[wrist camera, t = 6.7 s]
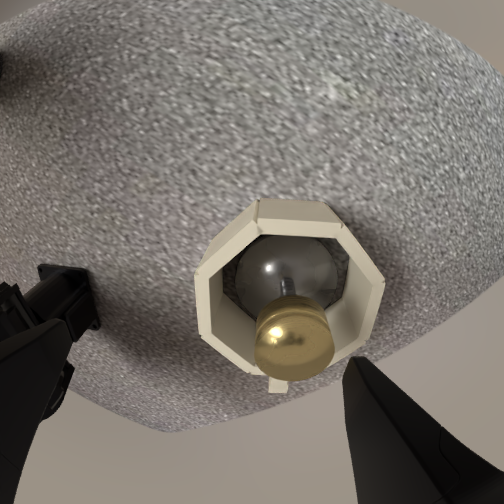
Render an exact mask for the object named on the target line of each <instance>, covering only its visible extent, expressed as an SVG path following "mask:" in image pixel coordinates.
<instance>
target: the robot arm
mask: <svg viewBox="0 0 504 504" xmlns="http://www.w3.org/2000/svg"><path fill="white" fill-rule="evenodd" d="M37 269H38V273H39V277H40V280H41V281H40V282H39V283H38V284H37V285H35V286H34V287H33V288H32V289H30V290H29V291H28V292H27V293H26V294H25V295H22V294H21V292H20V290H19V289H20V288H19V286H18V285H17V283H16V284H14V285H13V286H12V287H11V286H10V285H8V284H7V283H6V282H3V283H1V284H0V504H13V503H14V499H15V495H16V491H17V488H18V484H19V480H20V477H21V474H22V472H21V471H22V470H23V467H24V464H25V461H26V458H27V455H28V452H29V449H30V446H31V444H32V441H33V438H34V435H35V433H36V430H37V428H38V425H39V424H40V423H41V421H42V420H45V419H47V418H49V417H50V416H51V415H53V414H54V413H55V412H56V411H57V410H58V408H59V407H60V405H61V403H62V401H63V400H64V396H65V394H66V391H67V388H68V386H69V383H70V380H71V378H72V375H73V372H74V370H75V368H74V367H73V366H72V364H70V363H69V362H68V361H67V360H66V359H67V356H68V354H69V351H70V349H71V346H72V344H73V342H77V341H78V340H79V339H80V337H81V336H82V335H83V333H84V332H85V331H86V330H87V329H91V330H96V331H97V330H99V329H100V327H101V325H100V322H99V318H98V315H97V311H96V308H95V304H94V301H93V297H92V293H91V289H90V285H89V281H88V276H87V273H86V271H85V270H84V269H82V268H74V267H65V266H56V265H48V264H40V265H39V266H38V267H37ZM81 274H82V275H81ZM342 385H343V395H344V396H343V397H344V407H345V408H344V409H345V424H346V431H347V437H348V442H349V448H350V453H351V459H352V466H353V472H354V478H355V485H356V492H357V499H358V504H504V472H503V471H501V470H499V469H497V468H496V467H495V466H493V465H492V464H490V463H489V462H487V461H486V460H485V459H483V458H482V457H480V456H479V455H477V454H476V453H474V452H473V451H472V450H470V449H469V448H468V447H466V446H465V445H464V444H462V443H461V442H460V441H459V440H458V439H456V438H455V437H454V436H453V435H452V434H450V433H449V432H448V431H447V430H446V429H445V428H444V427H441V425H440V424H439V423H438V422H437V421H436V420H435V419H434V418H432V417H431V416H430V415H429V414H428V413H427V412H426V411H425V410H424V409H423V408H421V407H420V406H419V405H418V404H417V403H416V402H415V401H413V399H411V398H410V397H409V396H408V395H407V394H406V393H405V392H404V391H403V390H401V389H400V388H399V387H398V386H397V385H396V384H395V383H394V382H392V381H391V380H390V379H389V378H388V377H387V376H386V375H385V374H384V373H383V372H381V371H380V370H379V369H378V368H377V367H376V366H375V365H374V364H373V363H371V362H370V361H369V360H368V359H367V358H366V357H364V356H353V357H351V358H350V360H349V362H348V364H347V367H346V370H345V372H344V375H343V379H342Z"/></svg>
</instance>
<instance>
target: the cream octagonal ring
mask: <svg viewBox="0 0 504 504" xmlns="http://www.w3.org/2000/svg"><path fill="white" fill-rule="evenodd" d="M260 234H273V235H291V236H309V237H325V238H336V239H337V240H338V242H339V243H340V244H341V245H342V247H343V248H344V249H345V250H346V252H347V253H348V254H349V255H350V258H349V264H348V269H347V274H346V279H345V284H344V289H343V294H342V298H340V299H339V300H338V301H336V302H335V303H334V304H332V305H331V306H330V307H328V308H327V309H325V310H324V311H325V314H326V317H327V320H328V324H329V327H330V331H331V334H332V338H333V342H334V346H335V353H334V357H333V359H332V361H331V363H330V364H329V365H328V366H327V367H326V368H328V367H329V366H331V365H333V364H334V363H336V362H338V361H339V360H341V359H342V358H344V357H346V356H347V355H349V354H350V353H352V352H353V351H355V350H356V349H358V348H359V347H361V346H362V345H364V344H365V343H366V341H365V340H369V337H370V334H371V331H372V328H373V325H374V322H375V319H376V316H377V312H378V309H379V306H380V302H381V299H382V295H383V291H384V288H385V284H386V283H385V282H384V280H385V279H384V277H383V276H382V274H381V273H380V271H379V270H378V269H377V267H376V266H375V264H374V263H373V262H372V260H371V259H370V257H369V256H368V255H367V253H366V252H365V251H364V249H363V248H362V247H361V245H360V244H359V243H358V241H357V240H356V239H355V237H354V236H353V235H352V233H351V232H350V231H349V229H348V228H347V227H346V226H345V224H344V223H343V222H342V221H341V220H340V219H339V218H338V216H337V215H336V214H335V213H334V212H333V211H332V210H331V208H330V207H329V206H328V205H327V204H324V203H323V202H318V201H304V200H289V199H272V198H260V202H259V201H258V200H257V199H256V200H255V201H254V202H253V203H252V204H251V205H249V206H248V207H247V208H246V209H245V210H244V211H243V212H242V213H241V214H239V215H238V216H237V217H236V218H235V219H234V220H233V221H232V222H231V223H230V224H228V225H227V226H226V227H225V228H224V229H223V230H222V231H221V232H220V233H219V234H218V235H216V236H215V237H214V238H213V239H212V241H211V243H210V245H209V247H208V248H207V250H206V252H205V254H204V256H203V258H202V260H201V262H200V264H199V266H198V268H197V269H196V272H195V274H194V279H195V293H196V306H197V318H198V329H199V335H201V338H202V339H203V340H204V341H206V342H207V343H208V344H209V345H211V346H212V347H213V348H214V349H216V350H217V351H218V352H220V353H221V354H222V355H223V356H225V357H226V358H227V359H229V360H230V361H231V362H233V363H234V364H235V365H237V366H238V367H239V368H241V369H242V370H243V371H245V372H246V373H249V372H250V371H251V374H252V375H266V374H264V373H263V372H262V371H261V370H260V369H259V368H258V366H257V364H256V362H255V358H254V349H255V335H256V322H255V321H254V320H253V319H252V318H251V317H250V316H248V315H247V314H246V313H245V312H244V311H243V310H242V309H241V308H240V307H238V306H237V305H236V304H235V303H234V302H233V301H232V300H231V299H230V298H229V297H227V296H226V295H225V294H224V293H223V268H222V267H223V266H224V265H225V264H226V263H228V262H229V261H230V260H231V259H232V258H233V257H235V256H236V255H237V254H238V253H239V252H240V251H241V250H243V249H244V248H245V247H246V246H247V245H248V244H250V243H251V242H252V241H253V240H254V239H255V238H257V237H258V236H259V235H260ZM326 368H325V369H326ZM287 390H288V381H282V380H277V379H274V378H272V377H270V376H269V388H268V393H287Z"/></svg>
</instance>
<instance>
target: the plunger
mask: <svg viewBox="0 0 504 504" xmlns="http://www.w3.org/2000/svg"><path fill="white" fill-rule="evenodd" d="M337 280H338V277H337V269H336V266H335V263H334V261H333V259H332V257H331V255H330V253H329V251H328V250H327V248H326V247H325V246H324V245H323V244H322V243H321V242H320V241H318V240H317V239H315V238H314V237H309V236H291V235H273V234H267V235H265V236H263V237H261V238H259V239H257V240H256V241H255V242H253V243H252V244H251V245H250V246H249V247H248V248H247V249H246V251H245V252H244V253H243V255H242V257H241V259H240V261H239V264H238V267H237V272H236V278H235V285H236V291H237V294H238V297H239V299H240V301H241V303H242V304H243V306H244V307H245V308H246V309H247V310H248V311H249V312H250V313H251V314H252V315H254V316H255V317H257V322H256V335H255V349H254V358H255V362H256V364H257V366H258V368H259V369H260V370H261V371H262V372H263V373H264V374H266V375H268V376H270V377H272V378H274V379H277V380H282V381H300V380H305V379H308V378H311V377H313V376H315V375H317V374H319V373H320V372H322V371H323V370H324V369H325V368H326V367H327V366H328V365H329V364H330V363H331V361H332V359H333V357H334V353H335V346H334V342H333V338H332V334H331V331H330V327H329V324H328V320H327V317H326V314H325V311H324V309H325V308H326V307H327V305H328V304H329V303H330V301H331V299H332V298H333V296H334V293H335V291H336V287H337Z"/></svg>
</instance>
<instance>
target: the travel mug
mask: <svg viewBox="0 0 504 504" xmlns="http://www.w3.org/2000/svg"><path fill="white" fill-rule="evenodd" d="M1 72H2V56H1V54H0V77H1Z"/></svg>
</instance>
